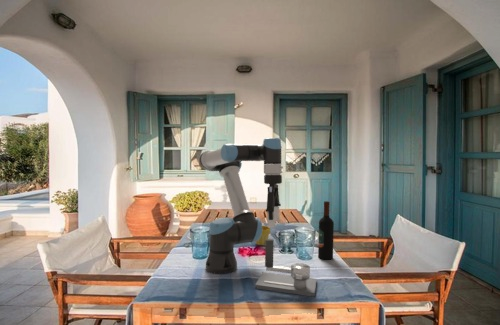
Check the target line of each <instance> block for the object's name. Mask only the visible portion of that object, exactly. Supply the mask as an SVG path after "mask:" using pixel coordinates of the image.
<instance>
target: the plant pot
mask: <svg viewBox="0 0 500 325" xmlns="http://www.w3.org/2000/svg"><path fill="white" fill-rule="evenodd" d="M270 234H271V228H268V225H262V235H261V237H260V239H259V240H257V241H255V244H256V245H258V246H265V240H266V239H269V236H270Z"/></svg>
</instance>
